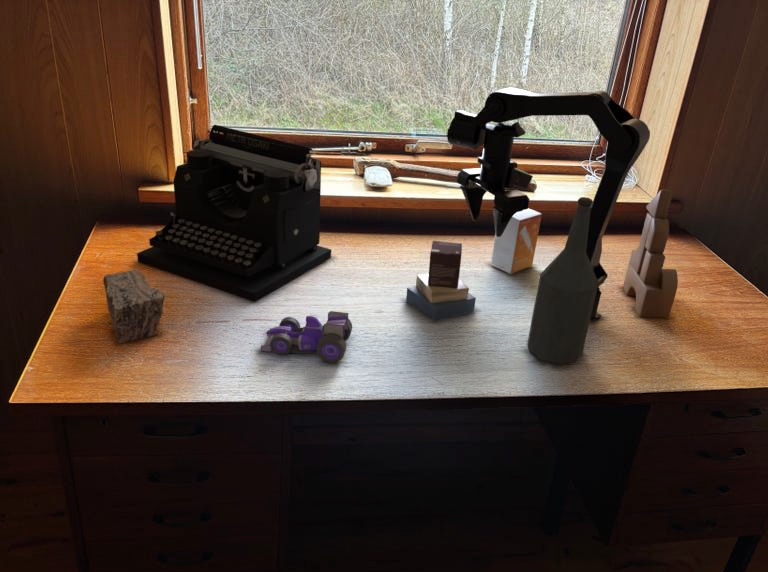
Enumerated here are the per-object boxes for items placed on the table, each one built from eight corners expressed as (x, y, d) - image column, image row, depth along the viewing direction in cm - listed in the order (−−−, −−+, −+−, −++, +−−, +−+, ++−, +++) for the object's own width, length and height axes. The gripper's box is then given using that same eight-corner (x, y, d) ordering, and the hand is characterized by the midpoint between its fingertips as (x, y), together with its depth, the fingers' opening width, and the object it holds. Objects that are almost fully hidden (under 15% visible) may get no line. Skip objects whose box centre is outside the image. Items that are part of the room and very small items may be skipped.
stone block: (171, 337, 132) (167, 299, 129) (118, 346, 128) (112, 307, 124) (154, 303, 143) (150, 266, 139) (104, 310, 139) (98, 273, 135)
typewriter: (137, 261, 158) (123, 144, 144) (223, 225, 178) (216, 119, 165) (254, 302, 146) (250, 178, 133) (331, 257, 167) (333, 147, 154)
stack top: (467, 299, 148) (469, 288, 147) (430, 303, 145) (432, 292, 144) (451, 282, 154) (452, 271, 153) (415, 285, 152) (416, 274, 150)
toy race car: (272, 329, 138) (271, 298, 134) (351, 338, 137) (353, 307, 134) (258, 355, 130) (257, 323, 126) (343, 365, 129) (344, 332, 126)
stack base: (474, 310, 151) (476, 297, 149) (435, 321, 145) (436, 308, 144) (444, 291, 157) (445, 278, 156) (405, 300, 152) (407, 287, 151)
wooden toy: (670, 318, 155) (704, 204, 142) (639, 317, 154) (670, 201, 141) (648, 286, 168) (677, 178, 155) (620, 284, 168) (646, 176, 155)
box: (458, 276, 151) (462, 243, 147) (457, 289, 146) (461, 255, 142) (429, 273, 151) (432, 239, 147) (426, 286, 146) (430, 251, 142)
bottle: (569, 373, 133) (605, 214, 117) (519, 356, 137) (547, 199, 121) (587, 349, 141) (623, 197, 125) (539, 334, 144) (568, 184, 129)
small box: (510, 274, 167) (519, 220, 160) (489, 265, 171) (497, 211, 164) (533, 266, 172) (542, 213, 166) (512, 257, 176) (520, 204, 169)
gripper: (557, 166, 145) (543, 240, 153) (504, 139, 158) (494, 209, 167) (510, 170, 140) (498, 247, 148) (459, 142, 154) (451, 214, 162)
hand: (486, 228), depth 156 cm, fingers open, 9 cm apart
